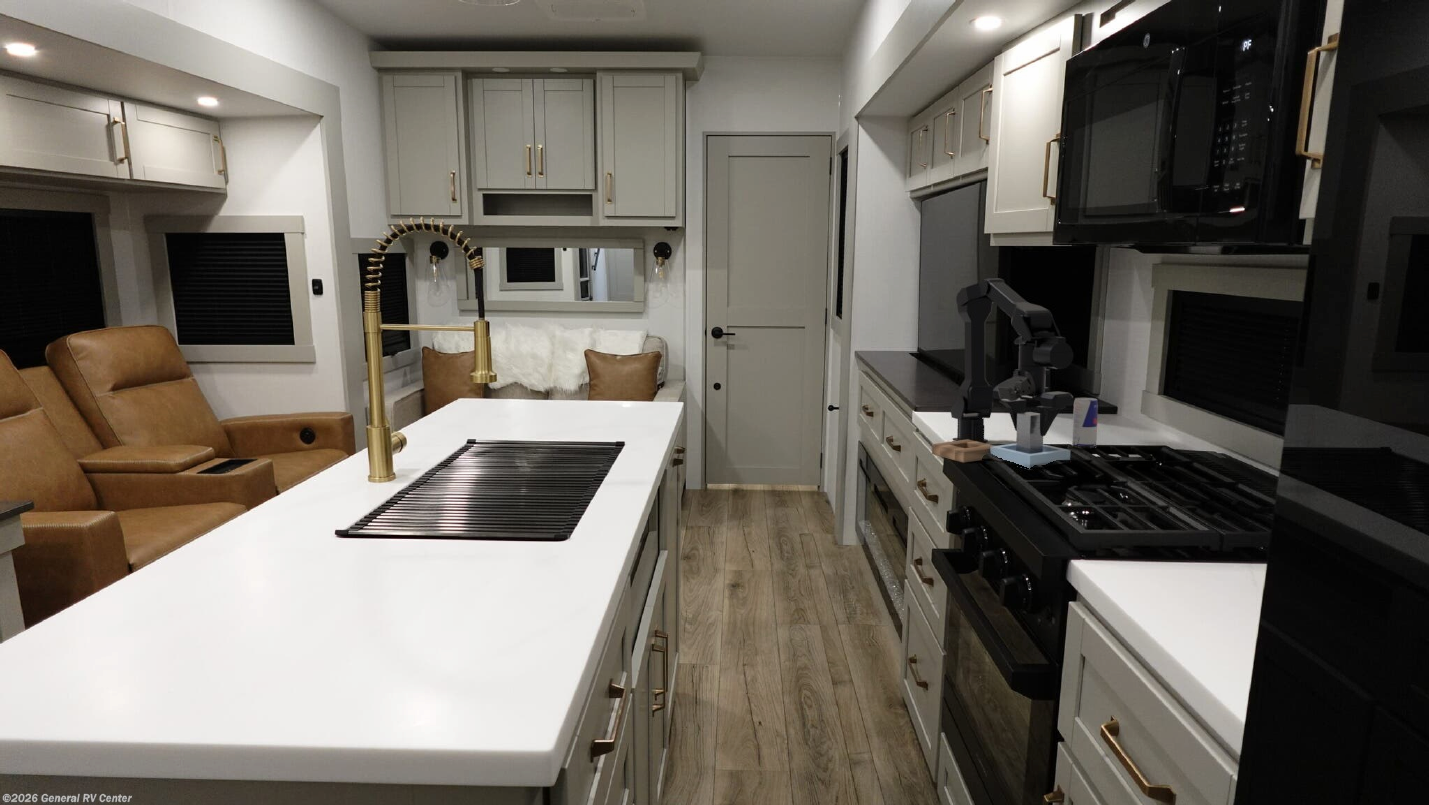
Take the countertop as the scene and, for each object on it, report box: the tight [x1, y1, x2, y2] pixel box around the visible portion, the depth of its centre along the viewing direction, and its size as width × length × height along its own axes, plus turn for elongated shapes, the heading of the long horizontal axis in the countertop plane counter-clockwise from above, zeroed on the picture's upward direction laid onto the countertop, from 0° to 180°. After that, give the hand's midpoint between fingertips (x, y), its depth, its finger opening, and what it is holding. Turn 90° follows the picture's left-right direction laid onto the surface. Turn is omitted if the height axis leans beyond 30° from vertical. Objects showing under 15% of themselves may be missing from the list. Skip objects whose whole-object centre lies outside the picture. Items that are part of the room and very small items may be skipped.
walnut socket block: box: [931, 439, 995, 463], centre depth 188 cm, size 11×11×2 cm
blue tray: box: [990, 442, 1071, 470], centre depth 180 cm, size 12×12×3 cm
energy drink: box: [1071, 397, 1099, 447], centre depth 193 cm, size 5×5×12 cm
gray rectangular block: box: [1015, 411, 1044, 454], centre depth 180 cm, size 4×4×10 cm
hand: (1030, 433), depth 180 cm, fingers open, 7 cm apart
